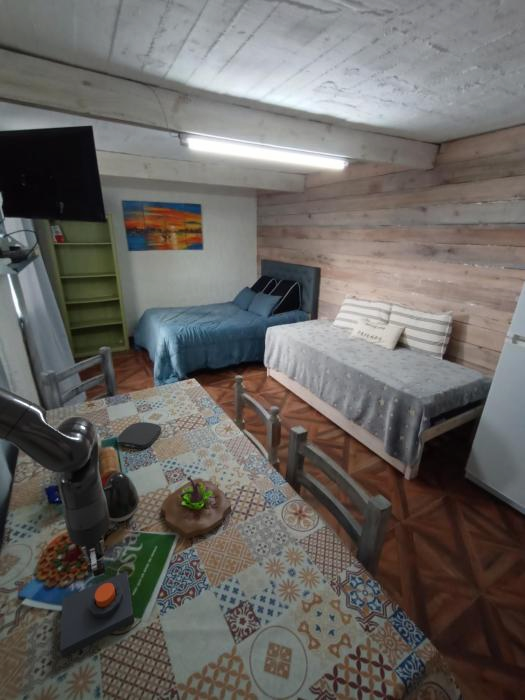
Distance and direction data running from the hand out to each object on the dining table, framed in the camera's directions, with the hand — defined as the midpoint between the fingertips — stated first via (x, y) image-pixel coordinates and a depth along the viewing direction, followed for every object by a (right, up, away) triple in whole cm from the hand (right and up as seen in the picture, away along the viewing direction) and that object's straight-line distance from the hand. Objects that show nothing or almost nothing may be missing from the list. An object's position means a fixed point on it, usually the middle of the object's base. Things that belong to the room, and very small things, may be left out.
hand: (99, 572), depth 69 cm
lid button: (0, -8, +3) cm, 9 cm away
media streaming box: (-16, +11, +65) cm, 68 cm away
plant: (+15, -2, +32) cm, 35 cm away
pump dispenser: (-8, -3, +29) cm, 31 cm away
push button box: (-2, -12, +4) cm, 13 cm away
